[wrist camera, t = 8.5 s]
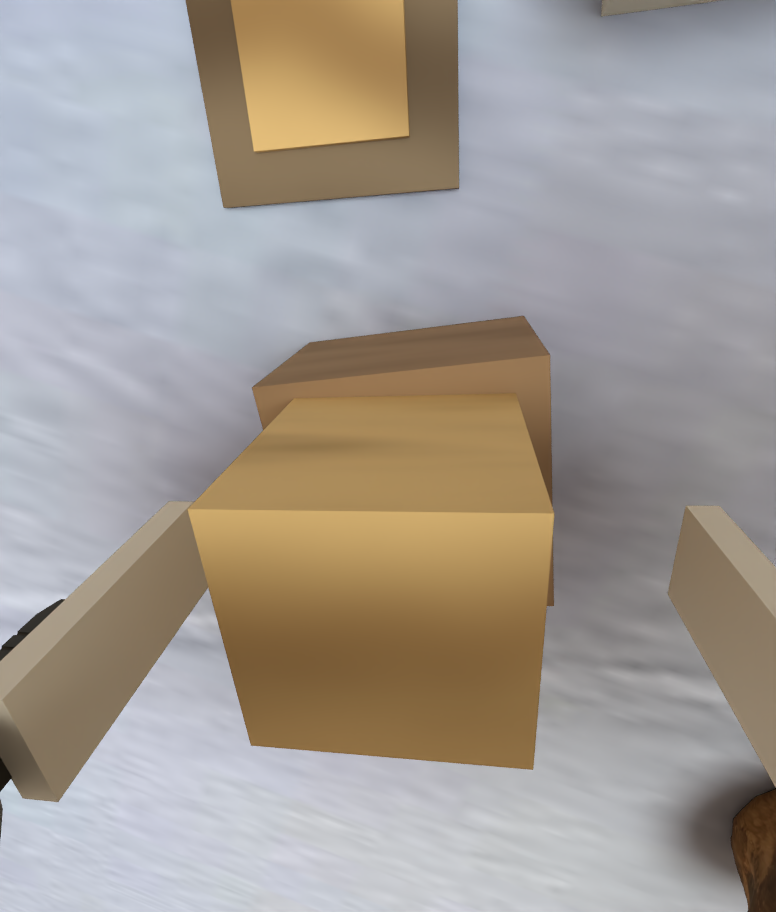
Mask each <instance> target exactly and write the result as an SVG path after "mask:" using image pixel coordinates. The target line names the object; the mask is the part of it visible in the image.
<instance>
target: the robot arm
mask: <svg viewBox="0 0 776 912" xmlns="http://www.w3.org/2000/svg"><path fill="white" fill-rule="evenodd" d="M193 503H194V502H185V501H169V502H168V503H167V504H166V505H165V506H163V507H162V508H161V509H160V510H159V511H158V512H157V513H156V514H155V515H154V516H153V517H152V518H151V519H150V520H149V521H148V522H147V523H146V524H145V525H143V526H142V527H141V528H140V529H139V530H138V531H137V532H136V533H135V534H134V535H133V536H132V537H131V538H130V539H129V540H128V541H127V542H126V543H124V544H123V545H122V546H121V547H120V548H119V549H118V550H117V551H116V552H115V553H114V554H113V555H112V556H111V557H110V558H109V559H108V560H107V561H105V562H104V563H103V564H102V565H101V566H100V567H99V568H98V569H97V570H96V571H95V572H94V573H93V574H92V575H91V576H90V577H89V578H88V579H86V580H85V581H84V582H83V583H82V584H81V585H80V586H79V587H78V588H77V589H76V590H75V591H74V592H73V593H72V594H71V595H70V596H69V597H67V598H66V599H61V600H59V601H57V602H56V603H54V604H52V605H51V606H49V607H47V608H46V609H44V610H43V611H41V612H39V613H38V614H36V615H35V616H34V617H33V618H32V619H31V620H30V621H29V622H28V623H26V624H25V625H24V626H23V627H22V628H21V629H20V630H19V631H18V633H17V635H13V636H12V637H11V638H10V639H9V640H8V641H7V642H6V643H5V644H4V645H2V649H1V650H0V791H1V790H2V789H3V788H4V786H5V785H6V784H7V783H8V781H9V780H10V779H12V781H13V783H14V784H15V786H16V788H17V789H18V791H19V793H20V794H21V796H22V798H25V799H34V800H44V801H53V802H59V800H60V799H61V797H62V796H63V794H64V793H65V792H66V790H67V789H68V787H69V786H70V784H71V783H72V782H73V780H74V779H75V777H76V776H77V774H78V773H79V772H80V770H81V769H82V767H83V766H84V764H85V763H86V762H87V760H88V759H89V757H90V756H91V754H92V753H93V751H94V750H95V749H96V747H97V746H98V744H99V743H100V741H101V740H102V739H103V737H104V736H105V734H106V733H107V731H108V730H109V729H110V727H111V726H112V724H113V723H114V721H115V720H116V719H117V717H118V716H119V714H120V713H121V711H122V710H123V708H124V707H125V706H126V704H127V703H128V701H129V700H130V698H131V697H132V696H133V694H134V693H135V691H136V690H137V688H138V687H139V686H140V684H141V683H142V681H143V680H144V678H145V677H146V676H147V674H148V673H149V671H150V670H151V668H152V667H153V665H154V664H155V663H156V661H157V660H158V658H159V657H160V655H161V654H162V653H163V651H164V650H165V648H166V647H167V645H168V644H169V643H170V641H171V640H172V638H173V637H174V635H175V634H176V633H177V631H178V630H179V628H180V627H181V625H182V624H183V622H184V621H185V620H186V618H187V617H188V615H189V614H190V612H191V611H192V610H193V608H194V607H195V605H196V604H197V602H198V601H199V600H200V598H201V597H202V595H203V594H204V592H205V591H206V590H207V588H208V584H207V580H206V576H205V572H204V569H203V565H202V561H201V557H200V554H199V550H198V546H197V543H196V539H195V535H194V531H193V528H192V524H191V520H190V517H189V513H188V508H189V507H190V506H191V505H192V504H193ZM668 595H669V597H670V599H671V601H672V603H673V604H674V606H675V608H676V610H677V612H678V613H679V615H680V617H681V619H682V621H683V622H684V624H685V626H686V628H687V629H688V631H689V633H690V635H691V637H692V638H693V640H694V642H695V644H696V646H697V647H698V649H699V651H700V653H701V655H702V656H703V658H704V660H705V662H706V664H707V665H708V667H709V669H710V671H711V672H712V674H713V676H714V678H715V680H716V681H717V683H718V685H719V687H720V689H721V690H722V692H723V694H724V696H725V698H726V699H727V701H728V703H729V705H730V707H731V708H732V710H733V712H734V714H735V715H736V717H737V719H738V721H739V723H740V724H741V726H742V728H743V730H744V732H745V733H746V735H747V737H748V739H749V741H750V742H751V744H752V746H753V748H754V750H755V751H756V753H757V755H758V757H759V758H760V760H761V762H762V764H763V766H764V767H765V769H766V771H767V773H768V775H769V776H770V778H771V780H772V782H773V784H774V785H775V787H776V567H775V566H774V565H773V564H772V563H771V562H770V561H769V559H768V558H767V557H766V556H765V555H764V554H763V553H762V552H761V551H760V550H759V549H758V547H757V546H756V545H755V544H754V543H753V542H752V541H751V540H750V539H749V538H748V537H747V535H746V534H745V533H744V532H743V531H742V530H741V529H740V528H739V527H738V526H737V525H736V523H735V522H734V521H733V520H732V519H731V518H730V517H729V516H728V515H727V514H726V513H725V511H724V510H723V509H722V508H721V507H720V506H686V507H685V512H684V517H683V522H682V527H681V532H680V536H679V541H678V546H677V551H676V556H675V561H674V565H673V570H672V575H671V580H670V585H669V590H668ZM2 811H3V808H2V804H1V800H0V837H1V824H2Z"/></svg>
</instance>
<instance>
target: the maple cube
mask: <svg viewBox="0 0 776 912" xmlns="http://www.w3.org/2000/svg"><path fill="white" fill-rule="evenodd" d="M188 513H189V517H190V520H191V524H192V528H193V531H194V535H195V539H196V543H197V546H198V550H199V554H200V557H201V561H202V565H203V569H204V572H205V576H206V580H207V584H208V587H209V591H210V595H211V598H212V602H213V606H214V610H215V613H216V617H217V621H218V624H219V628H220V632H221V636H222V639H223V643H224V647H225V650H226V654H227V658H228V662H229V665H230V669H231V673H232V676H233V680H234V684H235V688H236V691H237V695H238V699H239V702H240V706H241V710H242V714H243V717H244V721H245V725H246V728H247V732H248V736H249V740H250V743H251V746H263V747H275V748H286V749H298V750H310V751H321V752H333V753H345V754H356V755H368V756H380V757H391V758H403V759H415V760H426V761H438V762H450V763H461V764H473V765H485V766H496V767H508V768H520V769H531V770H533V765H534V753H535V741H536V729H537V717H538V705H539V693H540V681H541V668H542V656H543V644H544V632H545V620H546V608H547V596H548V584H549V572H550V560H551V548H552V536H553V523H554V511H553V508H552V505H551V502H550V499H549V495H548V492H547V489H546V486H545V483H544V480H543V477H542V474H541V470H540V467H539V464H538V461H537V458H536V455H535V452H534V449H533V445H532V442H531V439H530V436H529V433H528V430H527V427H526V424H525V421H524V417H523V414H522V411H521V408H520V405H519V402H518V399H517V396H516V393H506V394H462V395H419V396H376V397H332V398H294V399H293V400H292V401H291V402H290V403H289V404H288V405H287V406H286V407H285V408H284V410H283V411H282V412H281V413H280V414H279V415H278V416H277V417H276V418H275V419H274V420H273V421H272V422H271V423H270V424H269V425H268V426H267V427H266V428H265V429H264V430H263V431H262V432H261V433H260V434H259V435H258V437H257V438H256V439H255V440H254V441H253V442H252V443H251V444H250V445H249V446H248V447H247V448H246V449H245V450H244V451H243V452H242V453H241V454H240V455H239V456H238V457H237V458H236V459H235V460H234V461H233V463H232V464H231V465H230V466H229V467H228V468H227V469H226V470H225V471H224V472H223V473H222V474H221V475H220V476H219V477H218V478H217V479H216V480H215V481H214V482H213V483H212V484H211V485H210V486H209V487H208V489H207V490H206V491H205V492H204V493H203V494H202V495H201V496H200V497H199V498H198V499H197V500H196V501H195V502H194V503H193V504H192V505H191V506H190V507H189V508H188Z"/></svg>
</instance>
